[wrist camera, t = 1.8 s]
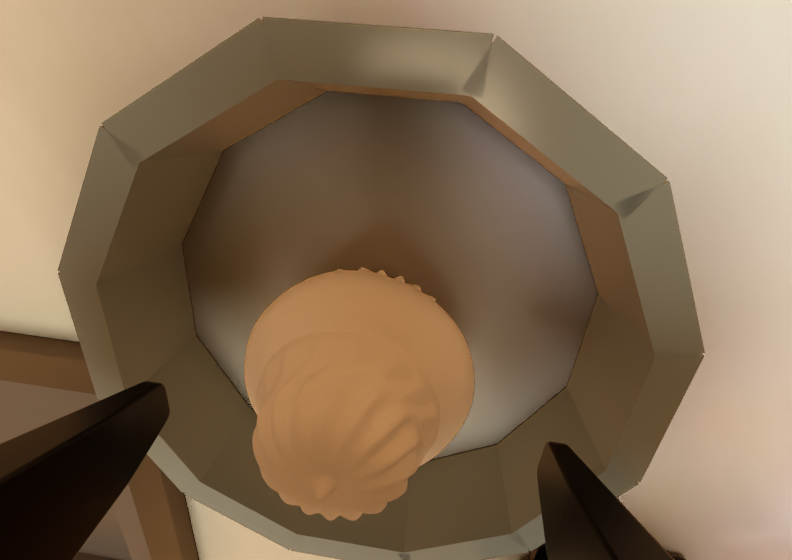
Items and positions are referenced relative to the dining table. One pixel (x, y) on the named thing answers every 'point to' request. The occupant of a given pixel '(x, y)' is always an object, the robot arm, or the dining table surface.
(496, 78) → the grey polygonal ring
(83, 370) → the tray
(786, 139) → the dining table surface
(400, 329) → the muffin
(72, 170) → the dining table surface
